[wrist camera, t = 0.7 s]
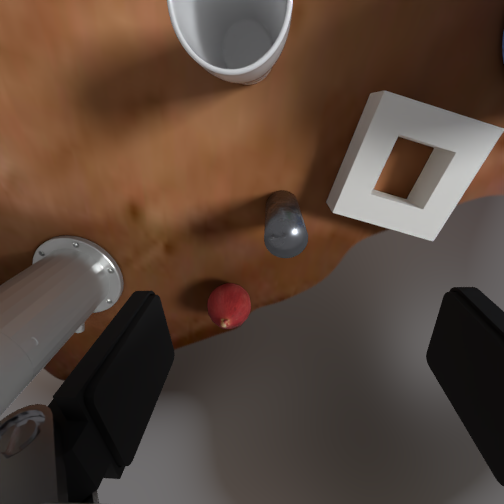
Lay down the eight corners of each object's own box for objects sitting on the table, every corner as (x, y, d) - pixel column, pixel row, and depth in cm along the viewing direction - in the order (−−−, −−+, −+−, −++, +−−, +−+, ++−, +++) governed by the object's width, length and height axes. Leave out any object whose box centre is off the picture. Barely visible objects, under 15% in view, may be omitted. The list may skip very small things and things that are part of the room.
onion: (258, 298, 41) (256, 337, 34) (224, 310, 42) (215, 350, 35) (241, 267, 39) (235, 301, 32) (205, 280, 40) (192, 317, 33)
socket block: (416, 228, 35) (433, 241, 31) (326, 202, 34) (332, 212, 30) (476, 126, 29) (504, 128, 26) (370, 93, 29) (384, 90, 25)
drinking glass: (260, 106, 30) (251, 101, 16) (203, 68, 28) (144, 29, 15) (296, 39, 27) (322, -35, 13) (235, -7, 26) (198, -137, 12)
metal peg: (292, 225, 35) (299, 262, 27) (262, 216, 35) (259, 251, 26) (302, 195, 34) (314, 225, 25) (271, 186, 33) (271, 213, 24)
